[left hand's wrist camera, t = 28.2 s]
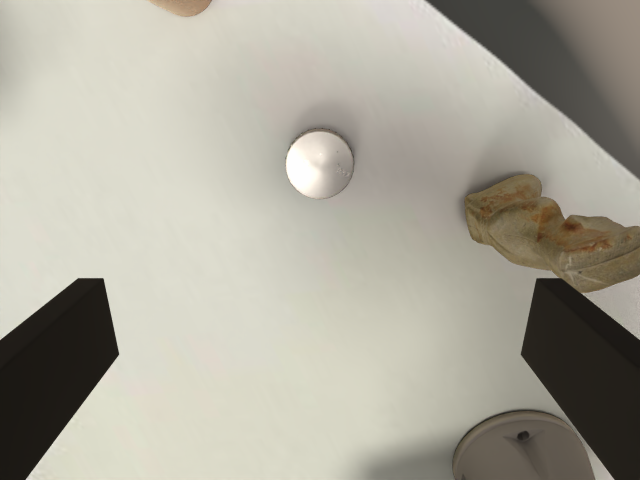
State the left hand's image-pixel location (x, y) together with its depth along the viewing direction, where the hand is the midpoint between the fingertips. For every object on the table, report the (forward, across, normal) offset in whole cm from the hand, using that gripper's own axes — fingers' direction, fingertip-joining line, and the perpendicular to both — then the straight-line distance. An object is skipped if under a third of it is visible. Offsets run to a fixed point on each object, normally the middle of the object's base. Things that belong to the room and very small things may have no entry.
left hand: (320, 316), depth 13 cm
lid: (+25, 0, 0) cm, 25 cm away
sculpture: (+26, -16, +4) cm, 31 cm away
